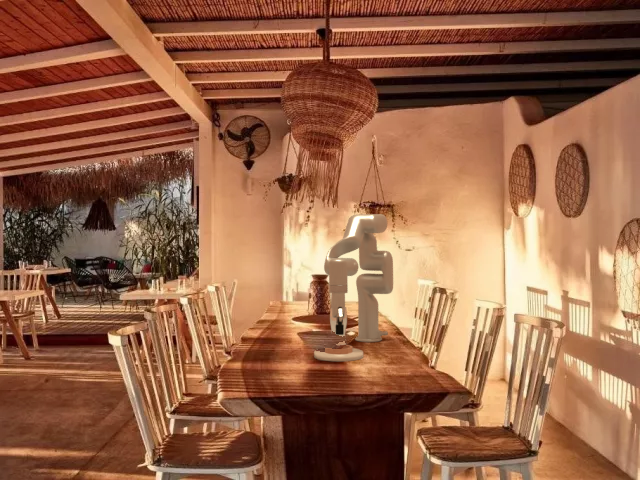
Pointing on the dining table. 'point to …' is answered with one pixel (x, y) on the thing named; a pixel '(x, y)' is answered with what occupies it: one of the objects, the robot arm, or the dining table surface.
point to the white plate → (339, 354)
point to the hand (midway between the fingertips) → (338, 332)
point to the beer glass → (333, 324)
